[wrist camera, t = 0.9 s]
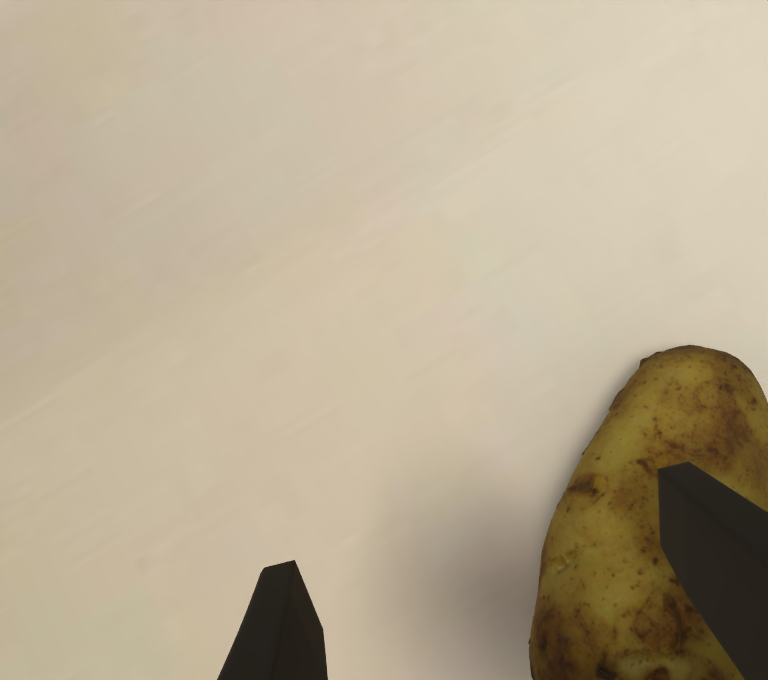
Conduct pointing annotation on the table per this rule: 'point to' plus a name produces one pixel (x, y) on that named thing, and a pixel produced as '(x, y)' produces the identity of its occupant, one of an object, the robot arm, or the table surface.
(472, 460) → the table surface
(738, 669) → the robot arm
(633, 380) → the potato
